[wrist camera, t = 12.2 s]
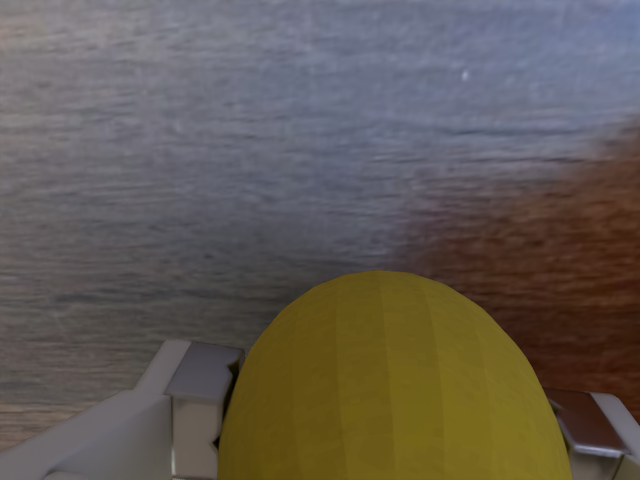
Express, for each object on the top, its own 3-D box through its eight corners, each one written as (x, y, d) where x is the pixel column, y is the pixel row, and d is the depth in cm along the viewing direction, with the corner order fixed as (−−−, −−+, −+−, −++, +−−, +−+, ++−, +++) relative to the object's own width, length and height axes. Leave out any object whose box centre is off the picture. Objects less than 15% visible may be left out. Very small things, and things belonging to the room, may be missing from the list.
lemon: (236, 366, 13) (77, 804, 5) (312, 178, 11) (223, 471, 3) (426, 435, 13) (517, 925, 6) (532, 267, 11) (877, 694, 4)
